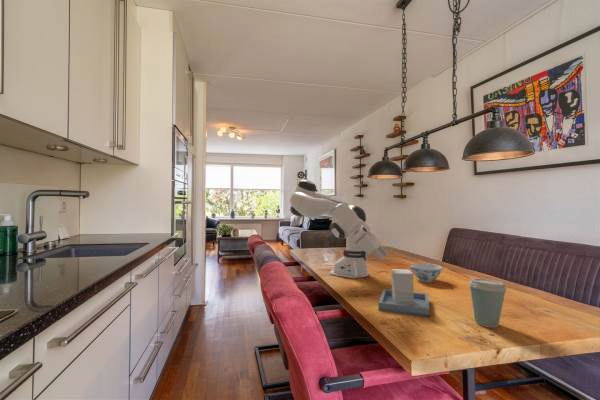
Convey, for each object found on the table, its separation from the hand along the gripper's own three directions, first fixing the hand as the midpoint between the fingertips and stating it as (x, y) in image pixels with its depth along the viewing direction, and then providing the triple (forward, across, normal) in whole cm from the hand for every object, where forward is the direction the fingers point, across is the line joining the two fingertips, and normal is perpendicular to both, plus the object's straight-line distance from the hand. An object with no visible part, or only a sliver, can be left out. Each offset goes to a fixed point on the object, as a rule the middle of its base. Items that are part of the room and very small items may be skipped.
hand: (385, 257), depth 116 cm
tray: (+18, 0, -8) cm, 20 cm away
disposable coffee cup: (+38, +8, +11) cm, 40 cm away
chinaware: (+25, -42, -2) cm, 49 cm away
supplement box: (+17, -1, -8) cm, 19 cm away
